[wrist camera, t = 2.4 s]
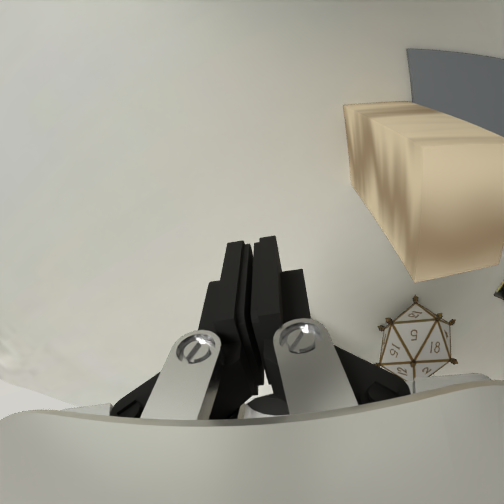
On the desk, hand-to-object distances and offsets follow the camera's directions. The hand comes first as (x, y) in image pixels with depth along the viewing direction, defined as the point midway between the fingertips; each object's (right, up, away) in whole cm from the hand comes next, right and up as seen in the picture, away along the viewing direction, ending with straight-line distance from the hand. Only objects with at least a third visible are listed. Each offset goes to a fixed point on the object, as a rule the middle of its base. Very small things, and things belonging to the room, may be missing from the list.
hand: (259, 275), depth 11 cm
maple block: (+9, +9, +10) cm, 16 cm away
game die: (+15, -6, +19) cm, 25 cm away
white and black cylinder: (+2, -6, +19) cm, 20 cm away
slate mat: (+17, +10, +9) cm, 21 cm away
